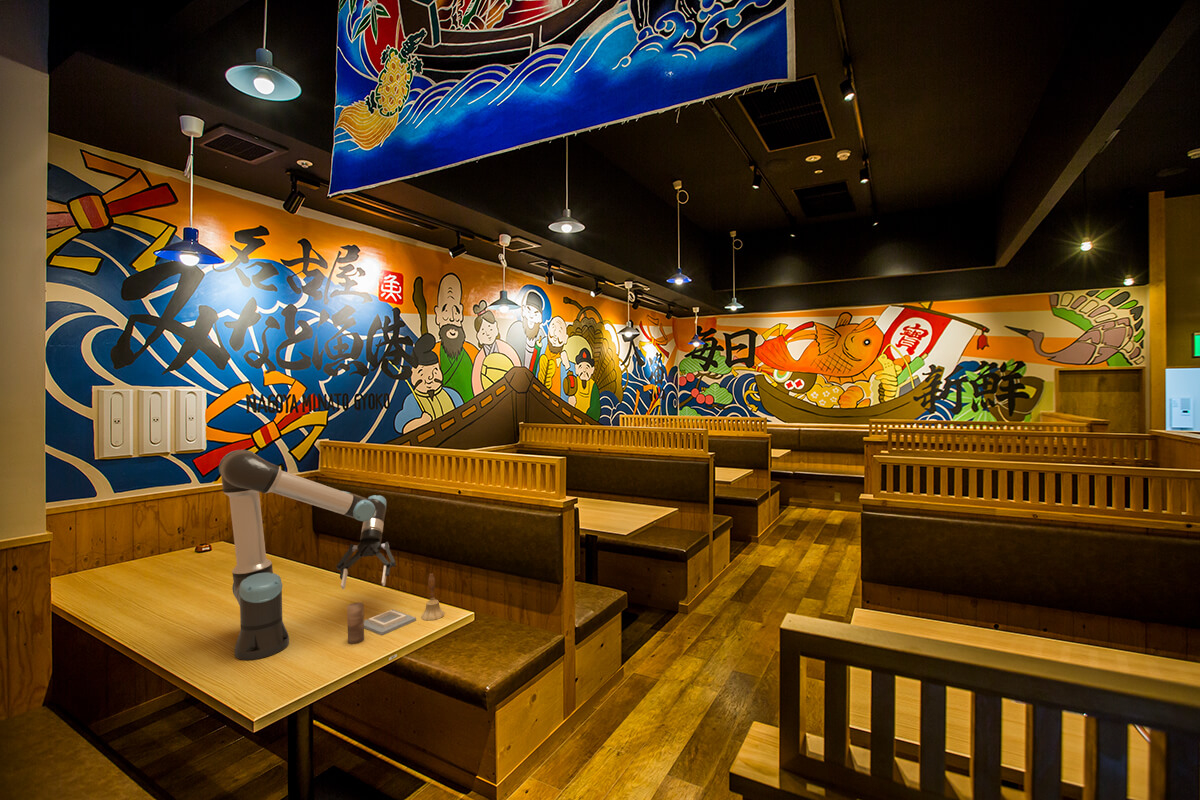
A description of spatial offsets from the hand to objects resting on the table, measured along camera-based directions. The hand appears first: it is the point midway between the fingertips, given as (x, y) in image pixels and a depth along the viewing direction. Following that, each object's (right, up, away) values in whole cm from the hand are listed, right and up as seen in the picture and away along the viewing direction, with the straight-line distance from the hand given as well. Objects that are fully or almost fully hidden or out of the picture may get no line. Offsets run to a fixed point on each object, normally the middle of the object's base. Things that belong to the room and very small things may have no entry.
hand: (363, 585), depth 189 cm
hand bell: (+22, -15, +9) cm, 28 cm away
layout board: (+8, -15, +3) cm, 17 cm away
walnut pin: (+2, -15, -10) cm, 18 cm away
